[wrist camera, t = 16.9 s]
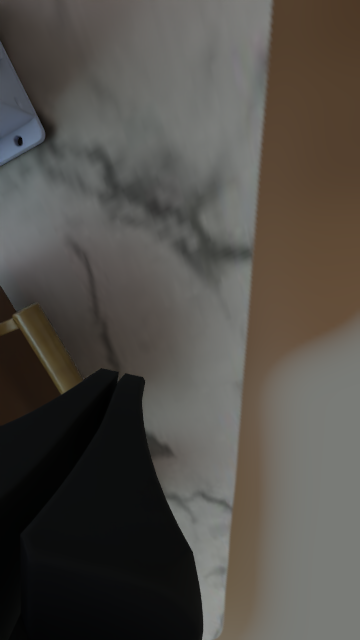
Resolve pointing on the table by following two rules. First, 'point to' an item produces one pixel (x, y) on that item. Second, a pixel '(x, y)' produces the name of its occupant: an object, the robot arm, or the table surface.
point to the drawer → (30, 361)
